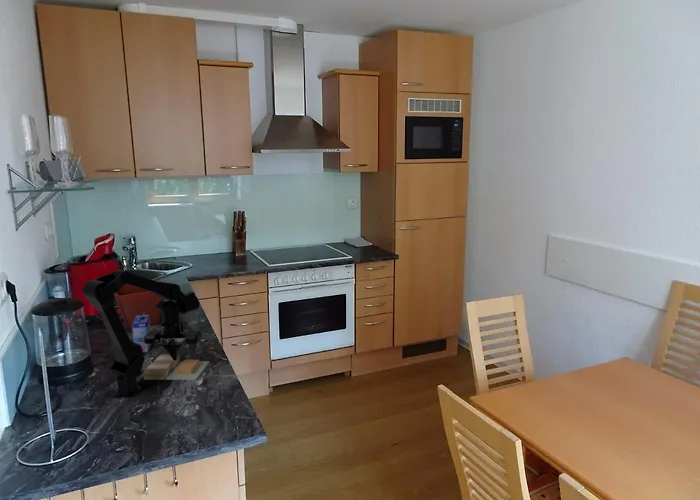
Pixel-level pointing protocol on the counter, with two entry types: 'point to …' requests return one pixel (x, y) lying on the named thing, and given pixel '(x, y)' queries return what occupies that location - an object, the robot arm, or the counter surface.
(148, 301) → the plant pot
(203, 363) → the sage mat
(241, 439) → the counter surface
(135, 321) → the ink cartridge box
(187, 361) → the orange block
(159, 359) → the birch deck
